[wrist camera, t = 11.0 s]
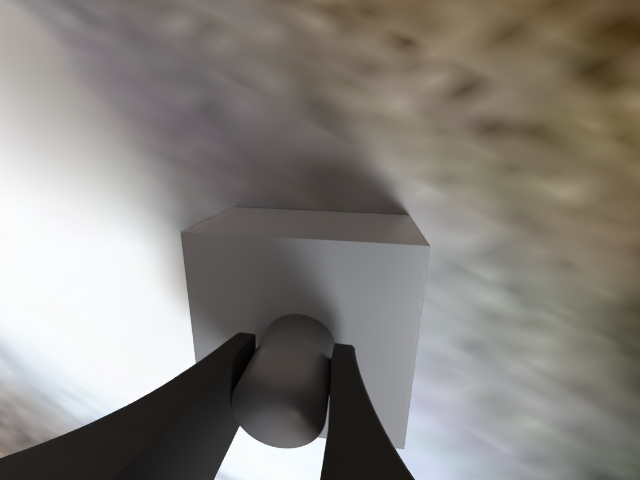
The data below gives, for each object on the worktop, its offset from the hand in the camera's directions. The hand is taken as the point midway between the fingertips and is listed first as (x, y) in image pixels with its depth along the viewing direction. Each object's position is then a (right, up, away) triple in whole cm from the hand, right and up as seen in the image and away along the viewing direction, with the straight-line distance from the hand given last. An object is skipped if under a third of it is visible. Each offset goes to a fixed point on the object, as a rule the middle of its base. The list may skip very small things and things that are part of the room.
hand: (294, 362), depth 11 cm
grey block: (+1, +2, +5) cm, 6 cm away
